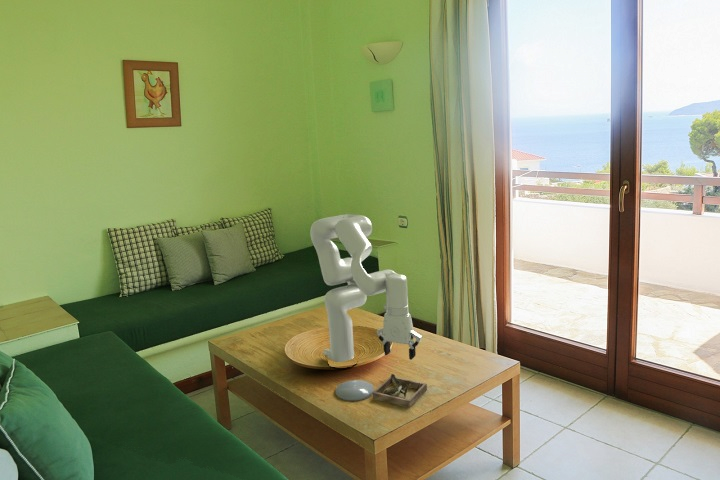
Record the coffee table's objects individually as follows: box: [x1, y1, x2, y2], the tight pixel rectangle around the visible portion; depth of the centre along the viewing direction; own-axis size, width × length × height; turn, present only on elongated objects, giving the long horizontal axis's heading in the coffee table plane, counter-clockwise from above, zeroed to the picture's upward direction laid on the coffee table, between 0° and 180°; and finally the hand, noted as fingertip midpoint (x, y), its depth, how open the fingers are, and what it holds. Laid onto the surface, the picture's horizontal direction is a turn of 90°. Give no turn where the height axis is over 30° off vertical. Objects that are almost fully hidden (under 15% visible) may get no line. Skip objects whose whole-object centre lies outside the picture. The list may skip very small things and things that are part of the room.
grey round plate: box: [335, 379, 375, 402], centre depth 214 cm, size 14×14×1 cm
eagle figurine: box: [384, 373, 412, 398], centre depth 211 cm, size 8×7×9 cm
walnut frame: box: [372, 375, 428, 409], centre depth 210 cm, size 15×14×2 cm
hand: (399, 356), depth 207 cm, fingers open, 9 cm apart
